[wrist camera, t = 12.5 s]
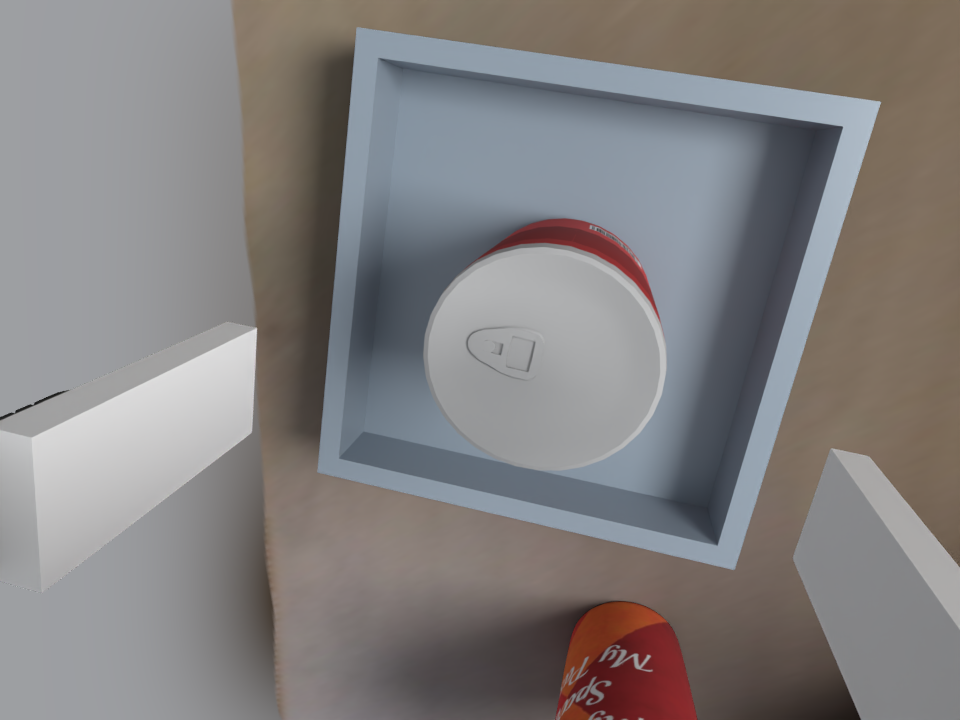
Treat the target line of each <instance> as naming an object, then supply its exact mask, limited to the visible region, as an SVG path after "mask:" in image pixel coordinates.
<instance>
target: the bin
mask: <svg viewBox="0 0 960 720" xmlns="http://www.w3.org/2000/svg"><path fill="white" fill-rule="evenodd" d="M880 103H881V102H878V101H871V100H864V99H857V98H850V97H843V96H836V95H829V94H822V93H815V92H808V91H801V90H794V89H787V88H780V87H773V86H766V85H759V84H752V83H745V82H738V81H731V80H724V79H717V78H710V77H703V76H696V75H689V74H682V73H675V72H668V71H660V70H653V69H646V68H639V67H632V66H625V65H618V64H611V63H604V62H597V61H590V60H583V59H576V58H569V57H562V56H555V55H548V54H541V53H534V52H527V51H520V50H513V49H506V48H499V47H492V46H485V45H478V44H471V43H464V42H457V41H450V40H443V39H436V38H429V37H422V36H415V35H407V34H400V33H393V32H386V31H379V30H372V29H365V28H358V27H357V31H356V42H355V54H354V65H353V76H352V87H351V99H350V110H349V121H348V133H347V144H346V155H345V167H344V178H343V189H342V201H341V212H340V223H339V235H338V246H337V257H336V269H335V280H334V291H333V302H332V314H331V325H330V336H329V348H328V359H327V370H326V382H325V393H324V404H323V416H322V427H321V438H320V450H319V461H318V473H322V474H326V475H331V476H335V477H339V478H343V479H348V480H352V481H356V482H360V483H365V484H369V485H373V486H378V487H382V488H386V489H390V490H395V491H399V492H403V493H407V494H412V495H416V496H420V497H425V498H429V499H433V500H437V501H442V502H446V503H450V504H454V505H459V506H463V507H467V508H472V509H476V510H480V511H484V512H489V513H493V514H497V515H501V516H506V517H510V518H514V519H519V520H523V521H527V522H531V523H536V524H540V525H544V526H548V527H553V528H557V529H561V530H566V531H570V532H574V533H578V534H583V535H587V536H591V537H595V538H600V539H604V540H608V541H613V542H617V543H621V544H625V545H630V546H634V547H638V548H643V549H647V550H651V551H655V552H660V553H664V554H668V555H672V556H677V557H681V558H685V559H690V560H694V561H698V562H702V563H707V564H711V565H715V566H719V567H724V568H728V569H732V570H735V567H736V564H737V560H738V557H739V554H740V551H741V548H742V544H743V541H744V538H745V535H746V532H747V528H748V525H749V522H750V519H751V516H752V512H753V509H754V506H755V503H756V500H757V496H758V493H759V490H760V487H761V484H762V480H763V477H764V474H765V471H766V468H767V465H768V461H769V458H770V455H771V452H772V449H773V445H774V442H775V439H776V436H777V433H778V429H779V426H780V423H781V420H782V417H783V413H784V410H785V407H786V404H787V401H788V397H789V394H790V391H791V388H792V385H793V381H794V378H795V375H796V372H797V369H798V365H799V362H800V359H801V356H802V353H803V349H804V346H805V343H806V340H807V337H808V333H809V330H810V327H811V324H812V321H813V317H814V314H815V311H816V308H817V305H818V301H819V298H820V295H821V292H822V289H823V285H824V282H825V279H826V276H827V273H828V269H829V266H830V263H831V260H832V257H833V253H834V250H835V247H836V244H837V241H838V238H839V234H840V231H841V228H842V225H843V222H844V218H845V215H846V212H847V209H848V206H849V202H850V199H851V196H852V193H853V190H854V186H855V183H856V180H857V177H858V174H859V170H860V167H861V164H862V161H863V158H864V154H865V151H866V148H867V145H868V142H869V138H870V135H871V132H872V129H873V126H874V122H875V119H876V116H877V113H878V110H879V106H880ZM562 218H567V219H575V220H582V221H586V222H589V223H592V224H595V225H598V226H600V227H602V228H604V229H605V230H607V231H609V232H611V233H613V234H614V235H616V236H617V237H618V238H619V239H620V240H621V241H623V242H624V243H625V244H626V245H627V246H628V247H629V248H630V249H631V251H632V252H633V253H634V254H635V256H636V257H637V258H638V260H639V262H640V264H641V266H642V268H643V270H644V272H645V274H646V276H647V280H648V283H649V286H650V289H651V292H652V295H653V298H654V301H655V304H656V308H657V311H658V314H659V317H660V321H661V325H662V329H663V333H664V339H665V343H666V358H667V370H666V376H665V381H664V386H663V391H662V395H661V398H660V400H659V402H658V405H657V407H656V409H655V411H654V414H653V416H652V417H651V418H650V420H649V421H648V423H647V424H646V425H645V427H644V428H643V429H642V431H641V432H640V433H639V434H638V435H637V436H636V437H635V438H634V439H633V440H632V441H630V442H629V443H628V444H627V445H626V446H625V447H624V448H622V449H621V450H619V451H617V452H616V453H614V454H612V455H611V456H609V457H607V458H606V459H604V460H601V461H598V462H595V463H592V464H590V465H587V466H584V467H579V468H573V469H567V470H561V471H553V470H533V469H528V468H523V467H517V466H514V465H511V464H508V463H505V462H503V461H500V460H497V459H495V458H493V457H491V456H489V455H487V454H486V453H484V452H482V451H481V450H479V449H477V448H475V447H474V446H473V445H472V444H470V443H469V442H468V441H467V440H465V439H464V438H463V437H462V436H461V435H459V434H458V433H457V432H456V430H455V429H454V428H453V427H452V426H451V425H450V423H449V422H448V421H447V420H446V419H445V417H444V416H443V415H442V413H441V411H440V409H439V407H438V406H437V404H436V402H435V400H434V399H433V397H432V394H431V391H430V388H429V385H428V382H427V379H426V375H425V367H424V359H423V351H424V339H425V332H426V329H427V326H428V322H429V319H430V316H431V313H432V311H433V309H434V308H435V306H436V304H437V302H438V300H439V299H440V297H441V295H442V293H443V291H444V290H445V289H446V288H447V286H448V285H449V284H450V283H451V282H452V281H453V280H454V278H455V277H456V276H457V275H458V274H459V273H460V272H462V271H463V270H464V269H465V268H466V267H467V266H468V265H470V264H471V263H472V262H474V261H475V260H476V259H478V258H479V257H480V256H482V255H483V254H484V253H486V252H487V251H489V250H490V249H491V248H493V247H494V246H496V245H497V244H498V243H500V242H501V241H503V240H504V239H505V238H507V237H508V236H510V235H511V234H512V233H514V232H515V231H517V230H519V229H521V228H523V227H525V226H527V225H529V224H532V223H536V222H539V221H543V220H547V219H562Z"/></svg>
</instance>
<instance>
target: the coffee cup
mask: <svg viewBox="0 0 960 720" xmlns="http://www.w3.org/2000/svg"><path fill="white" fill-rule="evenodd" d="M555 720H697V716H696V711H695V707H694V703H693V698H692V694H691V690H690V685H689V681H688V677H687V673H686V668H685V664H684V661H683V657H682V653H681V649H680V646H679V643H678V639H677V637H676V635H675V633H674V631H673V629H672V627H671V626H670V625H669V623H668V622H667V621H666V620H665V619H664V618H663V617H662V616H661V615H659V614H658V613H657V612H655V611H654V610H652V609H650V608H648V607H646V606H643V605H640V604H637V603H632V602H622V601H618V602H609V603H605V604H601V605H599V606H596V607H594V608H592V609H591V610H589V611H588V612H586V613H585V614H584V615H583V616H582V617H581V618H580V619H579V621H578V622H577V624H576V626H575V628H574V630H573V633H572V636H571V640H570V644H569V649H568V654H567V659H566V664H565V669H564V675H563V680H562V685H561V691H560V696H559V702H558V708H557V713H556V719H555Z"/></svg>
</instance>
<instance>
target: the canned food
mask: <svg viewBox="0 0 960 720" xmlns="http://www.w3.org/2000/svg"><path fill="white" fill-rule="evenodd" d="M423 359H424V367H425V375H426V379H427V382H428V385H429V388H430V391H431V394H432V397H433V399H434V400H435V402H436V404H437V406H438V407H439V409H440V411H441V413H442V415H443V416H444V417H445V419H446V420H447V421H448V422H449V423H450V425H451V426H452V427H453V428H454V429H455V430H456V432H457V433H458V434H459V435H461V436H462V437H463V438H464V439H465V440H467V441H468V442H469V443H470V444H472V445H473V446H474V447H475V448H477V449H479V450H481V451H482V452H484V453H486V454H487V455H489V456H491V457H493V458H495V459H497V460H500V461H503V462H505V463H508V464H511V465H514V466H517V467H523V468H528V469H533V470H553V471H561V470H567V469H573V468H579V467H584V466H587V465H590V464H592V463H595V462H598V461H601V460H604V459H606V458H607V457H609V456H611V455H612V454H614V453H616V452H617V451H619V450H621V449H622V448H624V447H625V446H626V445H627V444H628V443H629V442H630V441H632V440H633V439H634V438H635V437H636V436H637V435H638V434H639V433H640V432H641V431H642V429H643V428H644V427H645V425H646V424H647V423H648V421H649V420H650V418H651V417H652V416H653V414H654V411H655V409H656V407H657V405H658V402H659V400H660V398H661V395H662V391H663V386H664V381H665V376H666V370H667V358H666V343H665V339H664V333H663V329H662V325H661V321H660V317H659V314H658V311H657V308H656V304H655V301H654V298H653V295H652V292H651V289H650V286H649V283H648V280H647V276H646V274H645V272H644V270H643V268H642V266H641V264H640V262H639V260H638V258H637V257H636V256H635V254H634V253H633V252H632V251H631V249H630V248H629V247H628V246H627V245H626V244H625V243H624V242H623V241H621V240H620V239H619V238H618V237H617V236H616V235H614V234H613V233H611V232H609V231H607V230H605V229H604V228H602V227H600V226H598V225H595V224H592V223H589V222H586V221H582V220H575V219H567V218H562V219H547V220H543V221H539V222H536V223H532V224H529V225H527V226H525V227H523V228H521V229H519V230H517V231H515V232H514V233H512V234H511V235H510V236H508V237H507V238H505V239H504V240H503V241H501V242H500V243H498V244H497V245H496V246H494V247H493V248H491V249H490V250H489V251H487V252H486V253H484V254H483V255H482V256H480V257H479V258H478V259H476V260H475V261H474V262H472V263H471V264H470V265H468V266H467V267H466V268H465V269H464V270H463V271H462V272H460V273H459V274H458V275H457V276H456V277H455V278H454V280H453V281H452V282H451V283H450V284H449V285H448V286H447V288H446V289H445V290H444V291H443V293H442V295H441V297H440V299H439V300H438V302H437V304H436V306H435V308H434V309H433V311H432V313H431V316H430V319H429V322H428V326H427V329H426V332H425V339H424V351H423Z"/></svg>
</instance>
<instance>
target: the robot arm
mask: <svg viewBox="0 0 960 720" xmlns="http://www.w3.org/2000/svg"><path fill="white" fill-rule="evenodd" d="M256 339H257V328H255V327H251V326H245V325H241V324H236V323H231V322H225V323H223V324H221V325H219V326H216V327H214V328H212V329H209V330H207V331H205V332H202V333H200V334H198V335H196V336H193V337H191V338H189V339H187V340H184V341H182V342H179V343H177V344H175V345H173V346H170V347H168V348H166V349H163V350H161V351H159V352H157V353H154V354H152V355H150V356H147V357H145V358H143V359H140V360H138V361H136V362H134V363H131V364H129V365H127V366H124V367H122V368H120V369H117V370H115V371H113V372H111V373H108V374H106V375H104V376H101V377H99V378H97V379H94V380H92V381H90V382H88V383H85V384H83V385H81V386H78V387H76V388H74V389H72V390H67V391H62V392H58V393H56V394H53V395H51V396H48V397H46V398H44V399H42V400H39V401H37V402H35V403H34V405H28V406H25V407H23V408H20V409H18V410H16V412H15V413H9V414H7V415H4V416H2V417H0V582H3V583H7V584H10V585H14V586H17V587H21V588H25V589H28V590H32V591H35V592H39V593H43V592H44V591H45V590H47V589H48V588H49V587H51V586H52V585H53V584H55V583H56V582H57V581H59V580H60V579H61V578H63V577H64V576H65V575H66V574H67V573H69V572H70V571H72V570H73V569H74V568H76V567H77V566H78V565H79V564H81V563H82V562H83V561H85V560H86V559H87V558H89V557H90V556H91V555H93V554H94V553H95V552H96V551H98V550H99V549H100V548H102V547H103V546H104V545H106V544H107V543H108V542H110V541H111V540H112V539H113V538H115V537H116V536H117V535H119V534H120V533H121V532H123V531H124V530H125V529H127V528H128V527H129V526H130V525H132V524H133V523H134V522H136V521H137V520H138V519H140V518H141V517H142V516H144V515H145V514H146V513H147V512H149V511H150V510H151V509H153V508H154V507H155V506H157V505H158V504H159V503H160V502H162V501H163V500H164V499H166V498H167V497H168V496H170V495H171V494H172V493H174V492H175V491H176V490H177V489H179V488H180V487H181V486H183V485H184V484H185V483H187V482H188V481H189V480H190V479H192V478H193V477H194V476H196V475H197V474H198V473H200V472H201V471H202V470H204V469H205V468H206V467H208V466H209V465H210V464H211V463H213V462H214V461H215V460H217V459H218V458H219V457H221V456H222V455H223V454H224V453H226V452H227V451H228V450H230V449H231V448H232V447H234V446H235V445H236V444H237V443H239V442H240V441H242V440H243V439H244V438H245V437H247V436H248V435H249V434H251V433H252V423H253V402H254V381H255V360H256ZM793 560H794V563H795V565H796V567H797V570H798V572H799V575H800V577H801V579H802V582H803V584H804V586H805V589H806V591H807V593H808V596H809V598H810V600H811V603H812V605H813V608H814V610H815V612H816V615H817V617H818V619H819V622H820V624H821V626H822V629H823V631H824V633H825V636H826V638H827V641H828V643H829V645H830V648H831V650H832V652H833V655H834V657H835V659H836V662H837V664H838V666H839V669H840V671H841V674H842V676H843V678H844V681H845V683H846V685H847V688H848V690H849V692H850V695H851V697H852V700H853V702H854V704H855V707H856V709H857V711H858V714H859V716H860V718H861V720H960V567H959V566H958V565H957V564H956V562H955V561H954V560H953V559H952V558H951V556H950V555H949V554H948V553H947V551H946V550H945V549H944V548H943V546H942V545H941V544H940V543H939V542H938V540H937V539H936V538H935V537H934V535H933V534H932V533H931V532H930V531H929V529H928V528H927V527H926V526H925V524H924V523H923V522H922V521H921V519H920V518H919V517H918V516H917V515H916V513H915V512H914V511H913V510H912V508H911V507H910V506H909V505H908V504H907V502H906V501H905V500H904V499H903V497H902V496H901V495H900V494H899V493H898V491H897V490H896V489H895V488H894V486H893V485H892V484H891V483H890V481H889V480H888V479H887V478H886V477H885V475H884V474H883V473H882V472H881V470H880V469H879V468H878V467H877V466H876V464H875V463H874V462H873V461H872V459H871V458H870V457H869V456H866V455H861V454H856V453H851V452H847V451H842V450H837V449H832V448H831V449H830V452H829V455H828V458H827V461H826V464H825V467H824V469H823V472H822V475H821V478H820V481H819V484H818V487H817V490H816V492H815V495H814V498H813V501H812V504H811V507H810V510H809V513H808V515H807V518H806V521H805V524H804V527H803V530H802V533H801V536H800V538H799V541H798V544H797V547H796V550H795V553H794V556H793Z"/></svg>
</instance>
